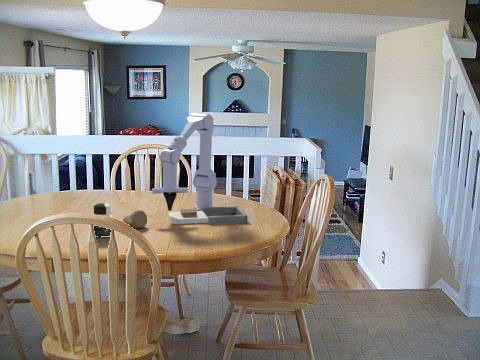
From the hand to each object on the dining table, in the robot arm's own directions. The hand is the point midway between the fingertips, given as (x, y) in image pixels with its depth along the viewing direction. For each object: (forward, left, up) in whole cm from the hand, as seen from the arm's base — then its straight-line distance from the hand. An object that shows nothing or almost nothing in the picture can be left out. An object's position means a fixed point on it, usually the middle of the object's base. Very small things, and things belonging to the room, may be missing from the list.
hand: (169, 210), depth 214 cm
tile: (0, +8, -3) cm, 8 cm away
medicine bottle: (+17, -27, -5) cm, 32 cm away
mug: (+7, -15, -5) cm, 18 cm away
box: (0, +23, -5) cm, 24 cm away
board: (0, +8, -5) cm, 9 cm away
